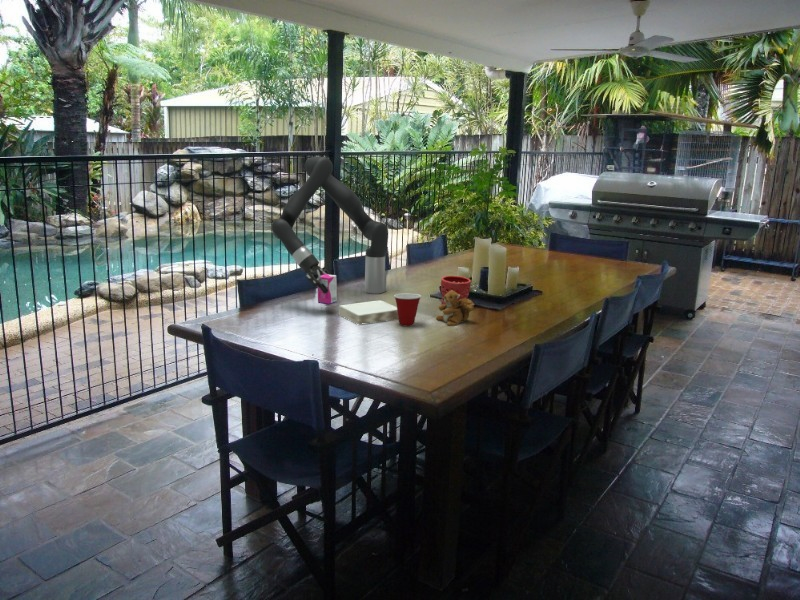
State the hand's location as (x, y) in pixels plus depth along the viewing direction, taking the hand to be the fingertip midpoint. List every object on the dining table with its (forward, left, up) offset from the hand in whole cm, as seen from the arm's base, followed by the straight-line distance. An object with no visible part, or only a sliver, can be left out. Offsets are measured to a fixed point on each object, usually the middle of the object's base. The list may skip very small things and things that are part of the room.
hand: (330, 290), depth 269 cm
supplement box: (+1, -1, -6) cm, 6 cm away
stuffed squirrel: (-39, +33, -10) cm, 52 cm away
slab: (-12, +12, -10) cm, 19 cm away
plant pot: (-56, +12, -10) cm, 58 cm away
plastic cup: (-20, +27, -10) cm, 35 cm away
